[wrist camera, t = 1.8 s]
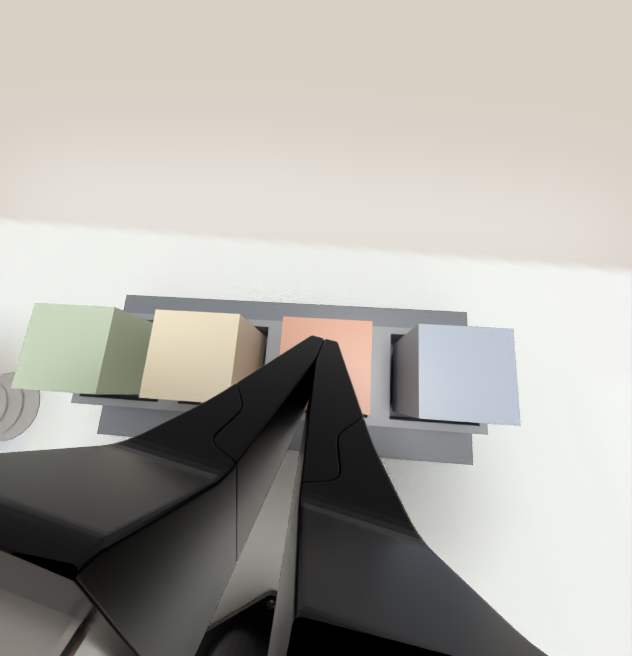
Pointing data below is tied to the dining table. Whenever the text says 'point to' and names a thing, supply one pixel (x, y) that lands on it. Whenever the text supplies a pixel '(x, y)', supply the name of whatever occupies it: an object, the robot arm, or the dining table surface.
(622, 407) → the dining table surface
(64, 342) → the key sage
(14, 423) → the chalice
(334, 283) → the dining table surface
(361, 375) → the peach rectangular block
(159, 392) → the block
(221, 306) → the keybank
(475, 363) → the key blue
